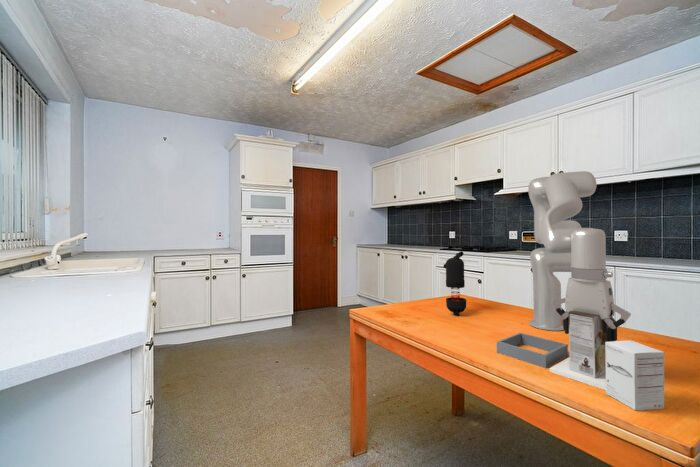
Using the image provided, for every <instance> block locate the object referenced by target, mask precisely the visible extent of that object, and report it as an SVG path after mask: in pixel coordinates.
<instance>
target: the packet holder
mask: <svg viewBox="0 0 700 467" xmlns="http://www.w3.org/2000/svg"><path fill="white" fill-rule="evenodd" d="M568 344H569V343H568ZM568 344H567V343H564V342H559V341H556V340H551V339H547V338H545V337H544V338H543V337H540V336H535V335H531V334H528V333H523V332H518V333H516V334H513V335H510V336H508V337H505V338H503V339H500V340H498V341H496V353H497V354H500V355H504V356H507V357H511V358H513V359H517V360H519V361H522V362H526V363H528V364H532V365H535V366H538V367H541V368H545V369H547V368H549V367H552V366H553V365H555V364H557V362H558V363H559V361H562V359H563V360H564V359H566V357H567V358H568V357H569V347H568V346H569V345H568ZM519 345H524V346H529V347H532V348H535V349H538V350H543V351H546V353H542V352H539V351H538V352H537V351H533V350H530V349H527V348H523V347H521V346H520V347H519Z"/></svg>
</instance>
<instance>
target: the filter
mask: <svg viewBox="0 0 700 467" xmlns="http://www.w3.org/2000/svg"><path fill="white" fill-rule="evenodd" d="M463 255H464V252H463V251H461V250H460V251H459V252H457V253H455V255H454V256H453V257H450V258H448V259H447V260H446V262H445V263H444V264H443V268H444V269H445V287H446V288H450V289H451V290H455V289H457V290H460V289H462V288H465V287H466V286H465V262H464V261H463V259H461V258H462V257H463ZM451 294H454V291H451ZM455 294H456V296H454V295H451V297H450V296H449V297H447V298H446V299H445V304H446V305H445V306H446V309H447V310H448V311H450V312H452V313H453V316H455V317H459V316H460V313H462V312H464V311H465V310H466V309H467V299H466V298H464V297H460V295H458V294H460V291H457V292H455Z"/></svg>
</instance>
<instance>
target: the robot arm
mask: <svg viewBox="0 0 700 467" xmlns="http://www.w3.org/2000/svg"><path fill="white" fill-rule="evenodd" d="M527 188H528V189H527V190H528V192H527V193H528V196H529V199H530V200H529V201H530V203H531V205H532V207H533V208H532V209H533V213H534V214H533V216H534V217H533V223H534V224H533V228H534V231H533V232H534V233H533V235H534V240H535V242H536V243H537V244H540V245H543V246H544V247H539V248H535V249H533V250H532V251H531V253H530V254H529V260H530V266H531V271H532V290H533V295H532V296H533V319H531V320H529V325H530V326H531V327H533V328H536V329H539V330H543V331H552V332H554V331H557V332H558V331H564V334H566V335H569V313H568V312H569V311H579V312H586V313H590V314H597V315H600V318H601V320H604V321H605V322H606V323H607V324H608V326H609V328H607V342H612V341H618V327H620V326H621V325H624V324H625V323H627V321H628V319H630V317H631V312H629V311H628V310H625V309H623V308H622V307H620V306H618V305H617V304H615V299H614V292H613V288H612V283H611V281H610V280H607V279H608V278H613V277H614V274H613V273H614V272H613V271H612V272H611V271H608V269H607V261H606V258H607V252H606V251H607V250H606V249H607V248H606V243H607V242H606V241H607V240H606V238H607V237H606V233H605V231H604V230H603V229H599V228H593V227H582V226H581V224H580V223H579V222H578V221H576V220H568V219H570V218H574V216H577V215H578V214H579V213H580V212H581V210H582V209H583V201H582V199H581V198H587V197H591V196H592V195H594V193H595V192H596V189H597V180H596V177H595V176H594V174H593V173H591V172H590V171H585V170H584V171H582V170H581V171H567V172H559V173H554V174H551V175H549V176H542V177H536V178H533V179H532V180H530V182H529V183H528V187H527ZM562 272H563V273H570V275H571V276H570V277H568V280H567V284H566V291H565V297H564V298H562V284H561V281H560V280H559V279H558V276H556V275H555V274H554V273H562ZM562 304H564V305H565V306H564V307H565V309H564V308H563V307H562ZM615 312H616V313H617V314H619V315H620V317H619V319H618V320H616V319H615V318H614V316H615Z"/></svg>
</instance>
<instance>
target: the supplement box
mask: <svg viewBox="0 0 700 467" xmlns="http://www.w3.org/2000/svg"><path fill="white" fill-rule="evenodd" d="M605 346H606V347H605V349H606V351H605V352H606V390H605V394H606V395H607V396H610V397H612V398H613V399H615V400H616V401H618V402H620V403H622V404H623V405H626V406H627V407H629V408H630V409H632V410H634V411H648V410H650V411H651V410H662V409H665V351H662V350H660V349H657V348H653V347H651V346H648V345H646V344H643V343H640V342H636V341H634V340H616V341H612V342H605Z"/></svg>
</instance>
